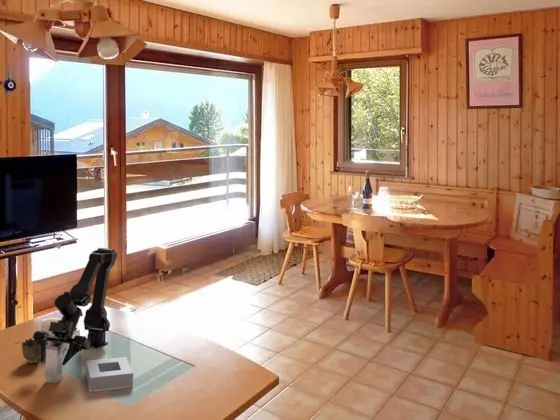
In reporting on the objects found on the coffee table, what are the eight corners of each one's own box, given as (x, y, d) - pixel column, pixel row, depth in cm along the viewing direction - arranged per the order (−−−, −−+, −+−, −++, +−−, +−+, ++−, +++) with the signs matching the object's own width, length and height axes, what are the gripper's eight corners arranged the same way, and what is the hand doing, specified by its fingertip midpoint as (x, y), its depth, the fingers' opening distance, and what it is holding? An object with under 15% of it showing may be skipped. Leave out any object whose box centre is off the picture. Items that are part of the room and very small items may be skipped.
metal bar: (51, 377, 184) (52, 341, 183) (62, 378, 184) (63, 342, 182) (44, 382, 180) (46, 345, 179) (56, 383, 180) (57, 347, 178)
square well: (85, 374, 189) (85, 360, 188) (125, 369, 195) (126, 356, 194) (89, 391, 176) (90, 377, 176) (132, 386, 182) (133, 373, 182)
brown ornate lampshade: (34, 368, 190) (35, 347, 189) (16, 365, 191) (17, 343, 190) (47, 360, 197) (48, 339, 196) (30, 357, 198) (30, 336, 197)
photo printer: (68, 346, 211) (69, 316, 210) (66, 350, 207) (67, 320, 206) (40, 346, 209) (41, 316, 207) (38, 350, 205) (39, 319, 203)
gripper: (36, 308, 184) (16, 350, 174) (87, 314, 182) (71, 357, 173) (47, 322, 193) (29, 363, 183) (96, 328, 191) (81, 370, 181)
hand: (52, 363), depth 180 cm, fingers open, 7 cm apart
